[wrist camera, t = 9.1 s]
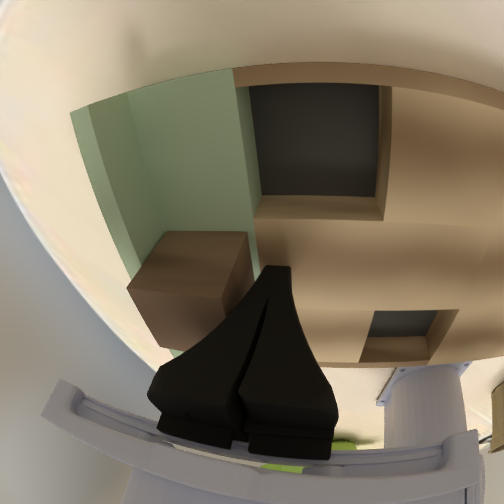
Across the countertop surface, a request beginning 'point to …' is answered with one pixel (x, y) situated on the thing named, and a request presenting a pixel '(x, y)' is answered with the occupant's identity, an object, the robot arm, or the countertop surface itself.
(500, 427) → the flower pot
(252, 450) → the robot arm
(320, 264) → the box
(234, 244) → the walnut block
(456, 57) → the countertop surface
